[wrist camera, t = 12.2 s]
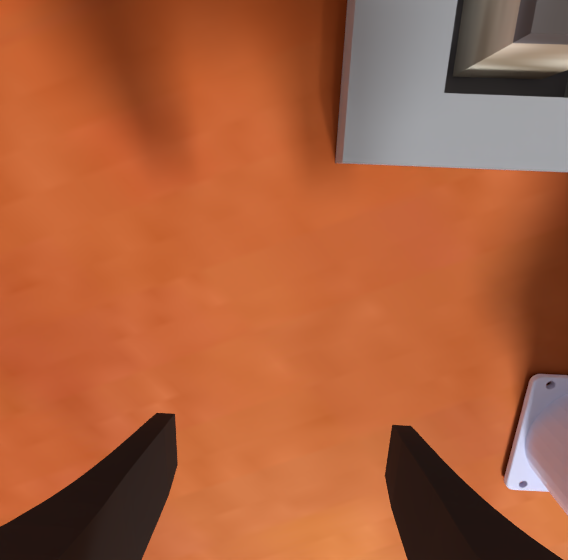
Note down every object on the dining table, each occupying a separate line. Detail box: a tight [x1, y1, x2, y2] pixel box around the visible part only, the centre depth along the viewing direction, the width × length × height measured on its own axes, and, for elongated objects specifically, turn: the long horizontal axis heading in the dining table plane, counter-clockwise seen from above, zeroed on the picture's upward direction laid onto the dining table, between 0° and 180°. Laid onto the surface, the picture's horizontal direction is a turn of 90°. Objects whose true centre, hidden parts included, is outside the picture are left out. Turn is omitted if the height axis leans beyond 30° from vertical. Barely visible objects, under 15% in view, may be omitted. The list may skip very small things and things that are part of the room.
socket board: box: [335, 0, 568, 172], centre depth 16 cm, size 14×12×3 cm
